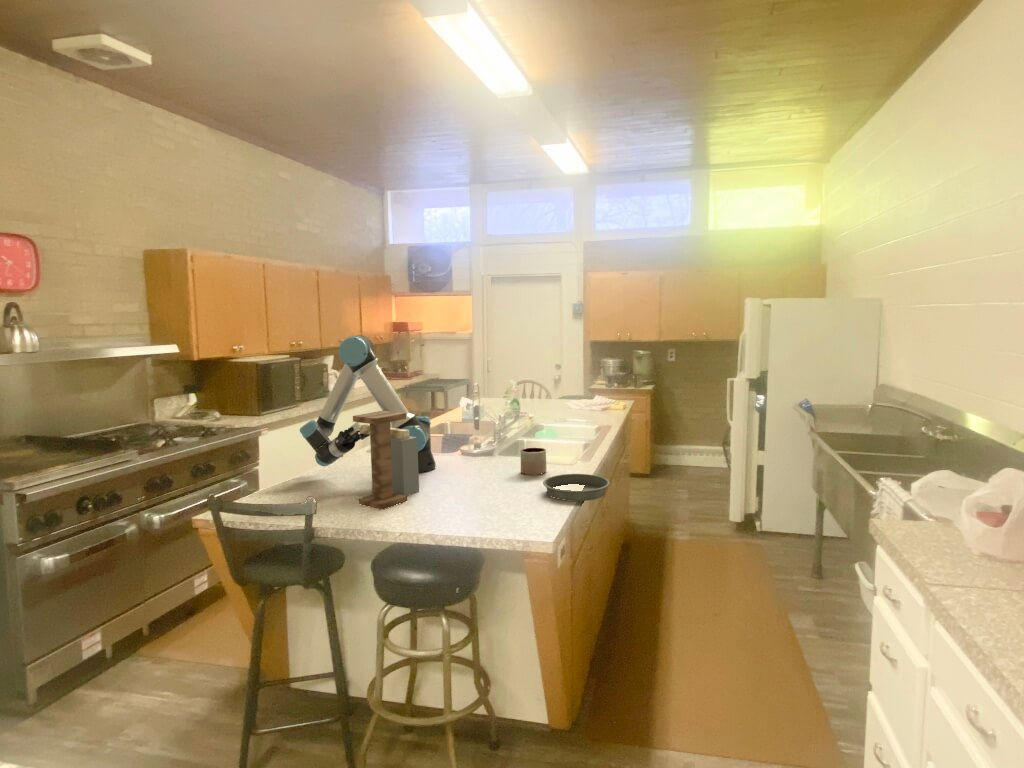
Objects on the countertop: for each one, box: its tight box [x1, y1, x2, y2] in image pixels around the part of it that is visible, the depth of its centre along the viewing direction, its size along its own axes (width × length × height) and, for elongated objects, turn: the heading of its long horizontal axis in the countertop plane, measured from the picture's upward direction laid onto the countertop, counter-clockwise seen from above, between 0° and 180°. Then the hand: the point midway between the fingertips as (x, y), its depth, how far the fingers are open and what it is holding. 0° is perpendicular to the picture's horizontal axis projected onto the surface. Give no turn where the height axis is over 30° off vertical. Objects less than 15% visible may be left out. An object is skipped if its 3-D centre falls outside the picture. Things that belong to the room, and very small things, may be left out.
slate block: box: [369, 436, 420, 496], centre depth 251 cm, size 17×8×21 cm, turn 54°
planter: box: [520, 446, 547, 475], centre depth 278 cm, size 11×11×10 cm
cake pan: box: [542, 473, 611, 502], centre depth 245 cm, size 25×25×4 cm
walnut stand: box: [352, 410, 408, 510], centre depth 235 cm, size 12×14×32 cm
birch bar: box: [359, 424, 410, 439], centre depth 253 cm, size 24×3×3 cm, turn 55°
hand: (372, 422), depth 256 cm, fingers open, 13 cm apart
